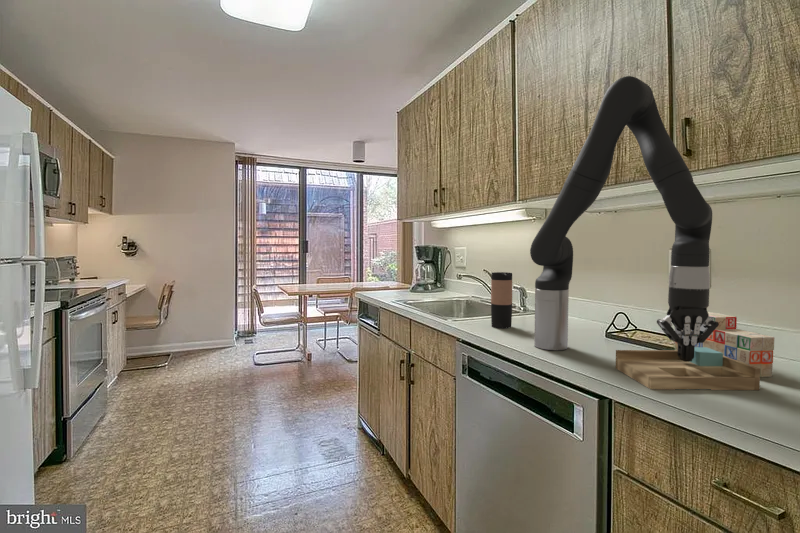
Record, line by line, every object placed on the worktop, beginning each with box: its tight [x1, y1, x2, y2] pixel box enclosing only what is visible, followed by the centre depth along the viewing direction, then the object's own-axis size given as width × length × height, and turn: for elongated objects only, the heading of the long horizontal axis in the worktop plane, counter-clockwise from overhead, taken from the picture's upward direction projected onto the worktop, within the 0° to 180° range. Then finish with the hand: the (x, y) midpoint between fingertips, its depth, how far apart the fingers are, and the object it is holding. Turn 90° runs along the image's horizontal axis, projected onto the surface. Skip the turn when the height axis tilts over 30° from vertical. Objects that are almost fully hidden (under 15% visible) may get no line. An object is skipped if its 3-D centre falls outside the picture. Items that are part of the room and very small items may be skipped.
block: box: [689, 347, 723, 366], centre depth 91 cm, size 5×5×3 cm
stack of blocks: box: [674, 311, 775, 378], centre depth 98 cm, size 21×6×12 cm, turn 5°
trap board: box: [615, 349, 761, 391], centre depth 87 cm, size 14×22×4 cm, turn 88°
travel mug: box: [490, 271, 513, 329], centre depth 144 cm, size 8×8×20 cm
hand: (685, 360), depth 90 cm, fingers closed
